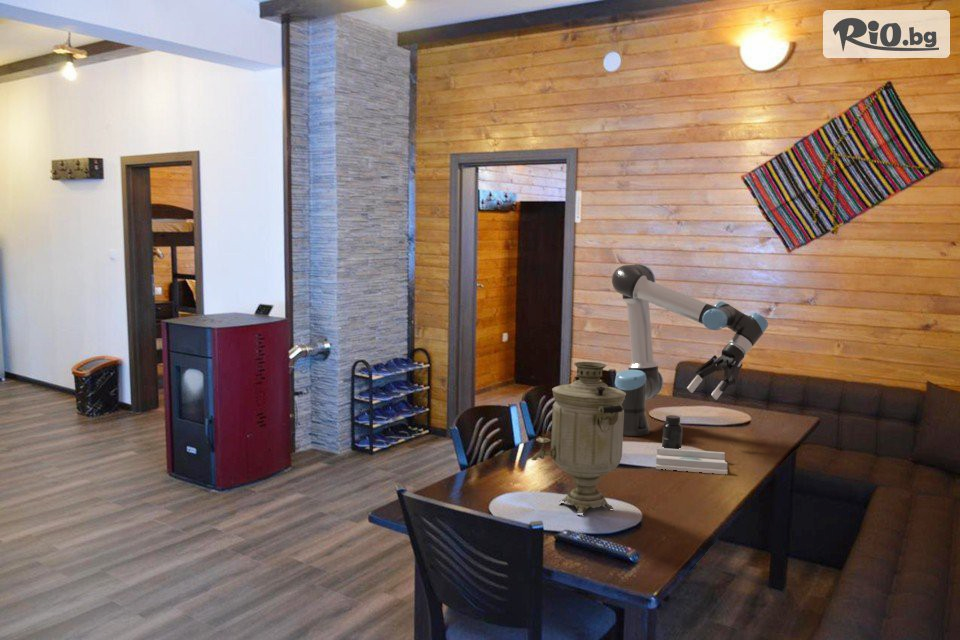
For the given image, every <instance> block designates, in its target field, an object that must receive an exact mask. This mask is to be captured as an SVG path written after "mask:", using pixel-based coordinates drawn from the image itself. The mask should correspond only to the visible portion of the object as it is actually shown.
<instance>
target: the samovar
mask: <svg viewBox="0 0 960 640" xmlns="http://www.w3.org/2000/svg"><path fill="white" fill-rule="evenodd" d="M573 365H574V366H575V367H576V375H577V376H574V379H575V380H574V381H572V382H571V383H569V384H561V385H557V386H554V387H553V388H551V390H552V396H553V398H554V403H553V404H552V414H551V415H552V417H551V437H550V438H551V439H550V438H548V437H545V436H542V437H538V438H536V439H535V441H536V442H539V443H541V446H540V449H539V451H538V452H536V453H535V454H534V455H533V456H532V458H531V461H537V460H538V458H539V459H542V460H543V459H545V457H546V456H550V459H551V460H553V461H554V463H555V465H556V466H558V468H559V469H561V470H562V471H563V472H564V473H566V474H567V475H570V476H572V482H573V484H575V485H576V486H577V487H575V488H573V489H572V490H571V491H570V492H568V493H567V495H566V496H565V497H564V498H563V499H561V500H562V501H564V502H565V503H567V504H569V505H571V506H574V507H575V508H576V509H577V512H578V513H584V514H585V512H586V511H587V509H589V508H593V509H596V508H600V507H601V506H603V507H604V508H607V509H608V510H610V509H614V507H613V505H611V504H609V503H608V501H607V500H606V498H605V496H604V495H605V494H603V493H602V492H601V491H600V490H598V489H596V488H595V487H596V486H598V485H599V484H600V477H603V476H606V475H608V474H609V473H611V471H614V470H615V469H617V467H618V466H619V465H620V463H621V460H622V457H623V442H624V439H623V438H624V435H623V423H624V407H622V405H621V404H623V401H624V399H625V395H626V393H625V392H623V391H621V390H619V389H616V388H615V387H612V386H608V384H607V383H605V382H604V381H601V378H602V377H603V370H604V368H606V367H607V366H608V364H606V363H603V362H596V361H576V362H574V363H573ZM549 442H550V451H549V450H548V451H547V450H546V449H545V444H546V443H549Z"/></svg>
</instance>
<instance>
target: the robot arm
mask: <svg viewBox="0 0 960 640" xmlns="http://www.w3.org/2000/svg"><path fill="white" fill-rule="evenodd" d="M611 284H612V287H613V288H614V290H615V291H616V293H619V294H621V295H622V300H623V302H625V303H626V309H627V318H628V320H627V321H628V332H629V344H630V355H631V356H630V357H631V363H630V364H629V365H628V369H626V370H621V371H619V372H617V373H616V375H615V379H614V388H616V389H619V390H621V391H623V392H625V393H626V395H625V399H624V401H623V404H621V405H622V407H624V423H623V437H624V436H627V437H639V436H640V437H641V436H646V435H649V434H650V424H649V421H648V418H647V415H646V401H647V400H650V399H652V398H653V399H654V397H656V396H657V395H658V394H660V393H661V391H662V389H663V387H664V379H663V376H662V374H661V373H660V372H659V365H658V363H656V362H655V361H654V351H653V348H654V347H653V339H652V326H651V314H650V313H651V312H650V311H651V310H650V303H651V304H653V305H655V306H658V307H660V308H663V309H665V310H667V311H670V312H673V313H675V314H677V315H680V316H682V317H685V318H687V319H689V320H691V321H695V322H697V323H699V324H702V325H704V327H705V328H707V329H708V330H709V331H710V330H711V331H720V330H722V329H724V328H727V329H729V330H731V331H732V332H734V333H735V334H734V335H733V336H732V337H731V338H730V340H729V341H728V343H726V344H725V346H724V347H723V349H722V350H721V355H720V356H719V357H718V356H717V355H713V356H712V357H711V358H710V359H709V360H707V361H706V362H705V363H703V364H702V365H701V366H699V367H698V368H697V369H696V370H695V369H694V371H693V372H694V374H695V376H694V378H693V379H692V380H691V382H690V383H689V384H688V386H687V387H686V389H687V390H688V392H689V393H691V394H693V393H694V392H695V390H696V389H697V387H699V385H700V384H701V383H702V382H703V379H704V378H705V377H707V376H710V375H711V374H713V373H714V372H719V371H723V373H724V374H723V375H724V376H723V377H724V378H723V379H722V380H721V381H720V382H719V383H718V385H717V386H716V387H715V389H713V391H712V392H711V397H712V398H713V399H714V400H718V399H719V397H720V396H721V395H722V394H723V393H724V392H725V391H726V389H727V388H728V387H730V386H731V385H732V386H735V385H737V381H738V377H739V374H740V371H741V368H742V367H743V363H742V361H743V360H744V358H745V356H746V355H747V354H748V353H749V351H750V350H751V349H752V348H753V347H754V346H755V344H756V343H757V341H758V340H759V339H760V338H761V337H762V336H763V334H764V332H765V331H766V330H767V328H768V327H769V322H768V321H767V319H766V318H765V317H764V316H763V315H761V314H760V313H757V312H753V313H750V314H749V315H747V314H746V313H744V312H742V311H740V310H738V309H737V308H736V307H734V306H732V305H731V304H729V303H726V302H724V301H723V300H720V301H718V302H717V303H715V305H713V304H709V303H707V302H705V301H702V300H699V299H697V298H695V297H693V296H692V297H691V296H689V295H687V294H684V293H682V292H679V291H676V290H674V289H672V288H669V287H667V286H664V285H662V284H659V283H656V277H655V274H654V272H653V270H652V269H651V268H650V267H649V266H647V265H643V264H639V263H638V264H636V263H635V264H625V265H620V266H619V267H617V268H616V269H615V270H614V272H613V273H612V276H611Z"/></svg>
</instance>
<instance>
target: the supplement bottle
mask: <svg viewBox="0 0 960 640" xmlns="http://www.w3.org/2000/svg"><path fill="white" fill-rule="evenodd" d="M661 437H662V438H661V439H662V440H661V448H662V447H664V448H669V449H679V448H681V447H683V446H682V445H683V426H682V424H681V417H680V416H679V415H676V414H675V415H673V414H672V415H671V414H669V415H666V417H665V423H664V424H663V425H662V435H661Z"/></svg>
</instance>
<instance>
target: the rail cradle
mask: <svg viewBox="0 0 960 640" xmlns="http://www.w3.org/2000/svg"><path fill="white" fill-rule="evenodd" d="M725 454H726V453H725V451H711V450H696V449H695V450H694V449H684V448H682V449H669V448H662V447H657V448H656V457H655V458H656V459H655V460H656V462H655V470H661V469H663V470H662V471H673V470H677V472H686V471H688V473H699V472H702V473H703V474H712V473H714V475H725V474H726V475H728V471H729V470H728V462H727V461H726V458H725V457H726V455H725ZM665 469H666V470H665ZM702 473H701V474H702Z"/></svg>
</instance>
